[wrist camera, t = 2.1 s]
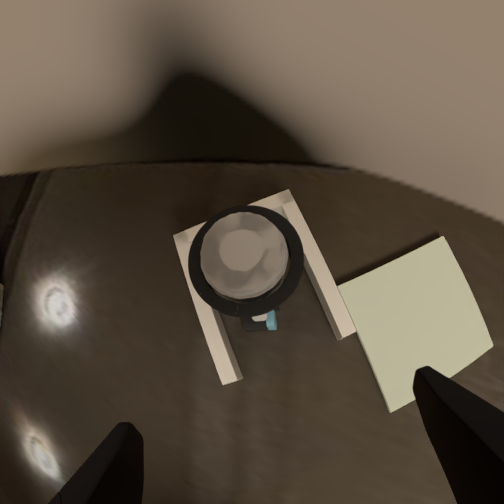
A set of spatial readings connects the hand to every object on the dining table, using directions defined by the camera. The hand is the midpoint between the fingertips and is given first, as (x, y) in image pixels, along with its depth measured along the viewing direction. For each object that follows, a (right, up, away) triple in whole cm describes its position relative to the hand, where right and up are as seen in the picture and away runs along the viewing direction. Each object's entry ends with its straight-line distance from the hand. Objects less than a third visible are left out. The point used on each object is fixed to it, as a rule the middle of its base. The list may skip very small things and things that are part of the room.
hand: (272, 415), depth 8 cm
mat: (+12, 0, +12) cm, 17 cm away
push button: (0, +2, +15) cm, 15 cm away
